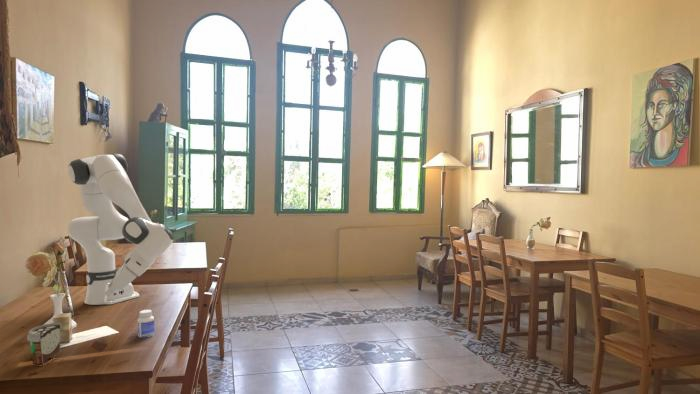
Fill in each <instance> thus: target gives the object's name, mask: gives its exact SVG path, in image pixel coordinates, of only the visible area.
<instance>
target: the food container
mask: <svg viewBox="0 0 700 394" xmlns="http://www.w3.org/2000/svg"><path fill="white" fill-rule="evenodd" d="M44 324H45V323H44ZM44 324H42V325H38V326H35V327H33V328H31V329H30V330H29V331H28V333H27V336H26V339H27V341H28V342H29V343H30V344H29V345H30V351H31V352H30V353H31V359H32V364H33V365H34V364H35V365H34V366H36V365H43V364H45V363H46V364H48V363H49V362H50V360H51V359H52V360H53V359H55V358H54V357H52V356H53V355H54V354H55V355H56V353H58V352H59V351H61V348H60V340H61V328H62V325H61V322H59V323H50V324H45V325H44ZM52 360H51V361H52ZM48 361H49V362H48ZM47 362H48V363H47ZM46 364H45V365H46Z"/></svg>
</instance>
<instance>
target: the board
mask: <svg viewBox="0 0 700 394" xmlns="http://www.w3.org/2000/svg"><path fill="white" fill-rule="evenodd" d="M119 333H120V332H119V331H117V330H116V329H114V328H112V327H110V326H108V325H103V326H100V327H96V328H91V329H87V330H84V331H79V332H77V333H72V339H71V341H70V343H63V344H60V349H61V348H64V347H69V346H73V345H76V344H81V343H85V342H87V341H88V342H89V341H92V340H96V339H100V338H104V337H107V336H112V335H115V334H119Z"/></svg>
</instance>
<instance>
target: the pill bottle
mask: <svg viewBox="0 0 700 394" xmlns="http://www.w3.org/2000/svg"><path fill="white" fill-rule="evenodd" d="M152 314H153V311H152V310H151V309H143V310H140V311H139V314H138V315H139V317H138V318H137V337H138V338H142V339H144V338H150V337H153V336H154V335H156V334H155V333H156V332H155V331H156V330H155V317H154V316H153V315H152Z"/></svg>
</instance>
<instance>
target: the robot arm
mask: <svg viewBox="0 0 700 394" xmlns="http://www.w3.org/2000/svg"><path fill="white" fill-rule="evenodd" d="M128 171H129V169H128V162H127V160H126V158H125V156H124V155H122V153H111V154H97V155H95V156H94V155H93V156H89V157H84V158H77V159H74V160H72V161H70V163H69V164H68V171H67V172H68V177H69V178H70V179H71V182H72V183H74V184H75V185H79V186H80V194H81V201H82V206H83V208H84V209H85V210H87V211H88V212H90V213H92V214H93V215H94V216H82V217H76V218H73V219H72V220H70V221H69V224H68V225H67V234H68V236H69V237H70V238H71V239H72V240H73V241H75V242H76V243H78V244H79V245H80V246H81V247H82V249H83V251H84V254H85V256H86V265H87V271H86V276H85V277H86V284H87V287H86V295H85V300H84V304H86V305H91V306H92V305H93V306H95V305H97V306H98V305H113V304H118V303H120V302H125V301H128V300H133V299H135V298H139V297H140V293H138V291H135V289H134V285H133V284H132V282H133V281H134V280H136V278H137V277H141V276H142V275H143V274H144V273H145V272H146V271H147V270H148V269H149V268H150V267H152V265H153V264H154V263H155V261H156V260H157V259H158V258H159V257H161V256H162V255H163V254H164V253H165V252H166V251H168V249H169V248H170V246H171V245H172V244H173V242H174V240H175V239H174V233H173V232H172V231H171V229H169V227H168V226H167V225H166V224H164V223H156V222H153V221H152V219H151V217H150V215H149V214H148V212H147V210H146V209H145V207H144V206H143V203H142V202H141V200H140V198H139V196H138V194H137V192H136V191H135V188H134V187H133V184H132V181H131V180H130V178H129V176H128V174H127V173H128ZM113 203H114V204H115V205H117V206H118V207H119V208H121V209H122V210H123V211H125V213H126V214H127V215H128V216H127V217H126V216H124V215H123V214H121V213H120V212H119V211H118V210H117V209H116V207H115V206H114V204H113ZM95 215H96V216H95ZM128 217H129V218H128ZM122 239H125V240H127V241H128V242H130V243H132V244H133V245H134V247H133V248H132V249H131V250H130V251H129V252H128V253H126V255H125V256H124V257H123V260H124V262H123V264H122V265H121V267H119V268H116V256H115V255H116V254H115V252H114V251H113V250H112V249H111V248H108V247H106V246H104V245H102V244H101V241H112V240H115V241H117V240H122Z"/></svg>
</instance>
